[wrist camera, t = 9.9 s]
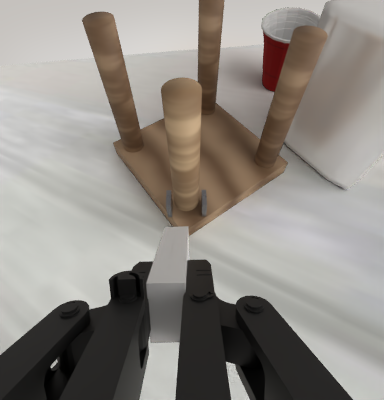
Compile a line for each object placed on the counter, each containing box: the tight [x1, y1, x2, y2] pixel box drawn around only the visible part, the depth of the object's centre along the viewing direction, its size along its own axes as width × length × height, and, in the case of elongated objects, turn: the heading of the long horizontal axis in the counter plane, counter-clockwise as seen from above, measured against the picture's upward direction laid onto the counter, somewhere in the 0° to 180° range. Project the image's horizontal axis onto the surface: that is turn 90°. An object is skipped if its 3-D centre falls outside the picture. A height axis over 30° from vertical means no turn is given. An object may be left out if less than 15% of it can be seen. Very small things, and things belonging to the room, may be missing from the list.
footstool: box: [82, 0, 328, 236], centre depth 34 cm, size 20×20×21 cm
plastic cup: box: [261, 8, 321, 92], centre depth 49 cm, size 11×11×12 cm
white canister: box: [284, 0, 384, 190], centre depth 36 cm, size 15×14×22 cm
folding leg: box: [161, 78, 202, 211], centre depth 27 cm, size 3×3×16 cm
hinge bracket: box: [166, 190, 207, 217], centre depth 34 cm, size 2×5×3 cm, turn 91°
